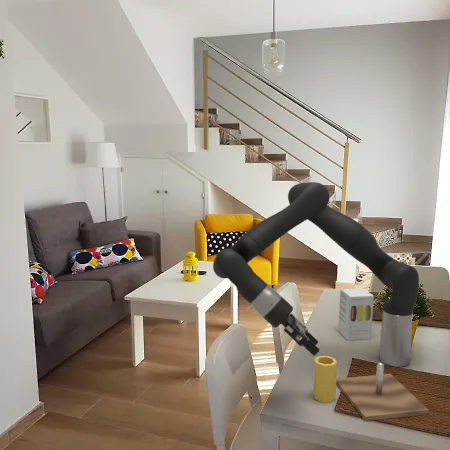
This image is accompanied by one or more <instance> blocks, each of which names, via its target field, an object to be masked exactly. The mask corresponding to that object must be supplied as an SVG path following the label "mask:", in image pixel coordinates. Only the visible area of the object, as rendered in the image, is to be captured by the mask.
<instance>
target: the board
mask: <svg viewBox="0 0 450 450" xmlns="http://www.w3.org/2000/svg"><path fill="white" fill-rule="evenodd" d="M376 375H377V374H375V375H363V376H361V375H360V376H350V377H341V378H336V387H337V388H338V389H339V390H340V391H341V393H342V392H343V393H344V394H345V395H346V396H345V395H344V394H343V393H342V394H343V395H344V396H345V398H346V397H347V398H348V399H349V400H350V401H349V400H348V399H347V398H346V399H347V400H348V401H349V403H350V402H351V403H352V404H351V403H350V404H351V405H352V407H353V406H354V407H355V408H356V409H357V410H356V409H355V408H354V407H353V408H354V409H355V410H356V411H358V412H359V413H360V414H361V415H360V414H359V413H358V412H357V413H358V414H359V415H360V417H361V416H362V417H361V418H362V419H363V421H365V422H368V421H369V422H370V421H377V420H386V419H393V418H394V419H395V418H396V419H397V418H403V417H404V418H405V417H413V416H415V417H416V416H422V415H429V408H427V407H426V406H425V405H424V404H423V403H422V402H421V401H420V400H419V399H418V398H416V396H415V395H413V394H412V393H411V392H410V391H409V389H408V388H406V387H405V386H404V385H403V384H402V383H401V382H400V381H399V380H398V379H397V378H396V377H394V376H393V374H392V373H385V374H384V373H383V388H382V395H377V394H376Z"/></svg>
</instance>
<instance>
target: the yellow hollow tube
mask: <svg viewBox="0 0 450 450" xmlns="http://www.w3.org/2000/svg"><path fill="white" fill-rule="evenodd" d="M313 359H314V360H313V361H314V362H313V389H312V394H313V395H312V396H313V397H314V400H316V401H319V402H321V403H333V402H334V400H336V396H337V385H336V379H337V375H338V373H337V372H338V371H337V370H338V361H337V360H336V358H334V357H331V356H329V355H318V356H317V357H315V358H313Z"/></svg>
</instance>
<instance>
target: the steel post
mask: <svg viewBox="0 0 450 450" xmlns="http://www.w3.org/2000/svg"><path fill="white" fill-rule="evenodd" d="M384 369H385V366H384V363H383V362H377V364H376V374H375V375H376V394H377V395H382V388H383V374H384Z"/></svg>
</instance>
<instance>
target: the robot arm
mask: <svg viewBox="0 0 450 450" xmlns="http://www.w3.org/2000/svg"><path fill="white" fill-rule="evenodd" d="M287 199H288V203H289V204H288V205H287V206H286V207H285V208H282V210H280V211H278V212H276V213H275V214H272V215H271V216H269V217H267V218H265V219H263V220H261V221H260V222H258V223H257V224H254V226H252V227H251V228H250V229H249V230H247V231H246V232H244V234H242V235H241V236H240V237H239V238H238V239H237V241H236V242H235V243H234V244H233V245H231V246H229V248H224V249H222V250H220V251H219V252H218V253H217V254H216V256H215V258H214V260H213V264H212V268H213V272H214V274H215V275H216V276H217V277H218V278H221V279H228V280H229V281H230V282H231V283H232V284H233V285H234V286H235V288H236V291H237V293H239V295H240V296H241V297H242V298H243V299H244V300H245V301H247V303H249V304H250V305H251V307H252V308H253V309H254V310H255V312H257V313H258V314H259V315H260V316H261V317H262V318H263V319H264V320H265V321H266V322H267V323H268V324H269V325H270V326H271V327H272V328H274V329H275V328H277V327H279V326H281V325H282V326H283V327H284V328H283V331H284V333H286V334H287V335H288V336H289V337H290V338H291V339H292V340H293V341H295V343H296V344H297V345H298V346H299V347H303V348H305V349H306V351H308V352H309V353H310V354H311V355H312V356H313V357H315V356H316V355H317V354H319V352H320V348H319V347H318V346H317V344H319V341H318V339H317V338H316V337H315V336H313V335H312V334H311V333H310V332H309V329H308V328H307V327H306V325H305V324H303V322H301V321H300V320H299V319H298V318H297V317H296V316H295V315H294V314H292V312H293V309H294V307H293V306H292V305H291V304H290V303H289V302H288V301H287V300H286V299H285V298H284V297H283V296H282V295H280V293H279V292H277V290H275V289H274V288H272V287H271V286H270V285H269V284H267V283H266V281H264V279H262V278H261V277H260V276H259V275H258V274H256V272H255V271H254V270H253V269H252V267H251V266H250V265H249V262H251V261H253V259H255V258H256V257H258V256H259V255H260V254H262V253H263V252H264V251H265V250H266V249H268V248H269V247H270V246H271V245H273V244H274V243H275V242H276V241H278V240H279V239H280V238H281V237H283V236H284V235H286V234H287V233H288V232H290V231H292V230H293V229H295V228H296V227H297V226H299V225H300V224H302V223H304V222H305V221H307V220H308V221H309V222H311V223H312V224H313V225H315V226H316V227H318V228H319V229H320V230H321V231H322V232H323V233H324V234H325V235H326V236H327V237H328V238H329V239H331V240H332V241H333V242H334V243H335V244H336V245H338V246H339V247H340V248H341V249H342V250H343V251H344V252H346V253H347V254H348V255H350V256H351V257H352V258H353V259H354V260H356V261H358V262H359V263H360V264H362V265H364V266H365V267H367V268H368V269H369V270H370V271H371V272H372V274H373V275H374V276H375V277H376V278H377V279H378V280H379V281H380V282H381V283H382V285H384V286H385V287H387V288H388V289H390V290H392V291H391V298H387V299H385V300H384V301H383V303H382V315H381V316H382V318H381V329H380V335H379V336H380V340H379V341H380V342H379V354H378V355H379V359H380V361H381V363H383V364H385V365H388V366H390V367H396V368H397V367H399V368H402V367H407V366H409V364H410V360H411V348H412V345H411V344H412V333H413V331H412V330H413V327H412V319H413V309H414V307H415V305H416V301H418V294H419V293H418V291H419V285H420V279H419V278H420V277H419V272H418V271H417V269H416V268H415V267H414V266H412V265H411V264H410V265H409V264H407V263H405V262H402V261H399V260H397V259H395V258H394V257H392V256H390V255H389V254H387V253H386V252H385V251H384V250H383V249H381V247H380V246H379V244H378V242H377V240H376V238H375V236H374V235H373V234H372V233H371V232H370V231H369V230H368V229H366V228H365V226H364V225H362V223H360V222H359V221H357V220H356V219H353V218H352V217H350V216H348V215H346V214H344V213H342V212H340V211H338V210H336V209H335V208H332V207H331V206H329V202H330V193H329V189H328V188H327V187H326V186H325V185H324V184H322V183H320V182H315V181H311V182H310V181H309V182H300V183H297V184H295V185H293V186H291V188H290V189H289V190H288V194H287Z"/></svg>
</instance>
